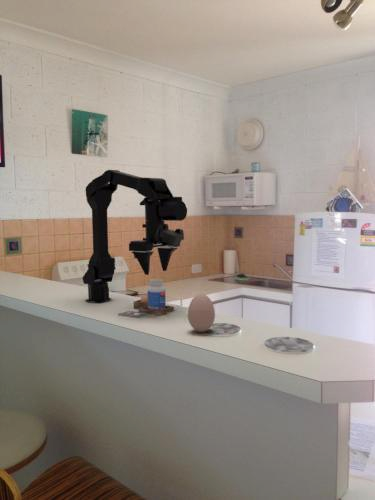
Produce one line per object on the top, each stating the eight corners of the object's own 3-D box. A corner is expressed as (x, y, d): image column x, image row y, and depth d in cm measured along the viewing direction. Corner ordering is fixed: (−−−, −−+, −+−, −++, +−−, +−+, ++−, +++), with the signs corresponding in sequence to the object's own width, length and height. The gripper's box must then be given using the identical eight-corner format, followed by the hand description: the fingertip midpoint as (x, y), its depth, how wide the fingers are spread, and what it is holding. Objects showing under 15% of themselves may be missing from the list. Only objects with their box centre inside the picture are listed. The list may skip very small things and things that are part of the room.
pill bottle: (163, 313, 137) (162, 281, 136) (145, 313, 138) (144, 280, 137) (167, 309, 142) (167, 278, 141) (150, 309, 143) (150, 278, 142)
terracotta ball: (137, 308, 145) (137, 295, 144) (145, 305, 148) (145, 293, 148) (147, 309, 143) (147, 296, 142) (155, 307, 146) (155, 294, 146)
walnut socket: (138, 312, 138) (138, 308, 138) (153, 307, 145) (153, 304, 145) (159, 315, 134) (159, 311, 134) (174, 310, 141) (174, 306, 141)
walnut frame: (133, 308, 144) (133, 301, 144) (144, 305, 149) (144, 298, 149) (148, 310, 141) (148, 303, 141) (159, 306, 146) (159, 299, 146)
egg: (215, 335, 113) (215, 296, 112) (187, 335, 113) (187, 296, 113) (214, 328, 120) (214, 291, 119) (188, 328, 120) (187, 291, 119)
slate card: (118, 315, 136) (118, 313, 136) (128, 311, 140) (128, 310, 140) (137, 317, 132) (137, 316, 132) (147, 314, 137) (147, 312, 137)
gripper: (159, 221, 125) (160, 278, 127) (194, 219, 141) (195, 270, 142) (126, 221, 131) (128, 276, 132) (164, 219, 147) (165, 268, 148)
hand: (156, 272), depth 139 cm, fingers open, 9 cm apart
